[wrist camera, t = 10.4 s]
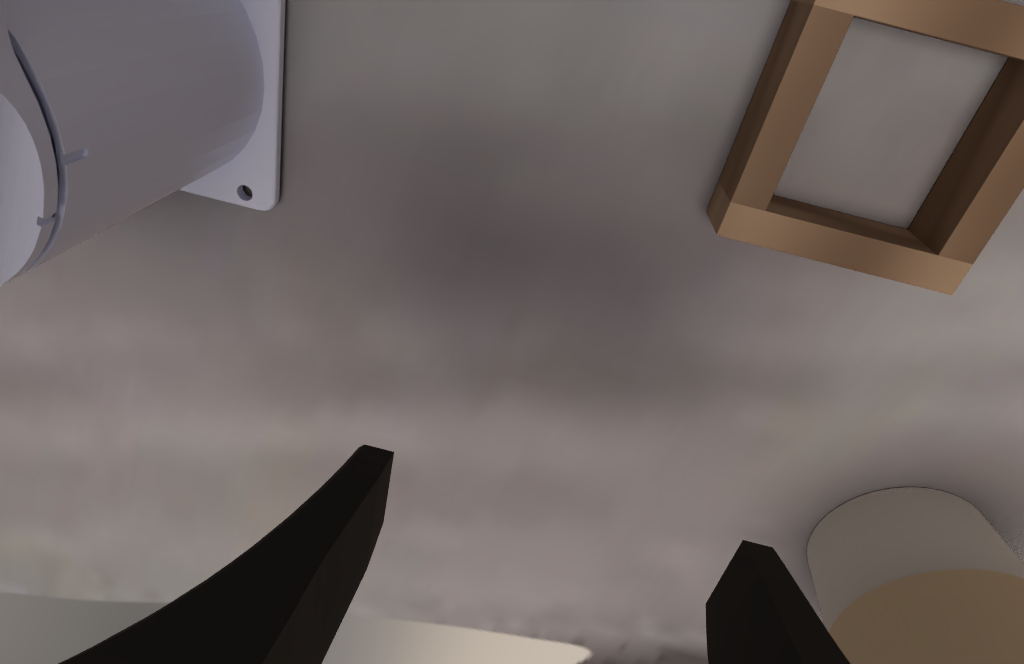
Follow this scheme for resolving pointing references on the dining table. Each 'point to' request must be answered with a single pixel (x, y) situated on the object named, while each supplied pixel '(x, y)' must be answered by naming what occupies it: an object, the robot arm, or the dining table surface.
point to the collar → (957, 192)
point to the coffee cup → (917, 581)
